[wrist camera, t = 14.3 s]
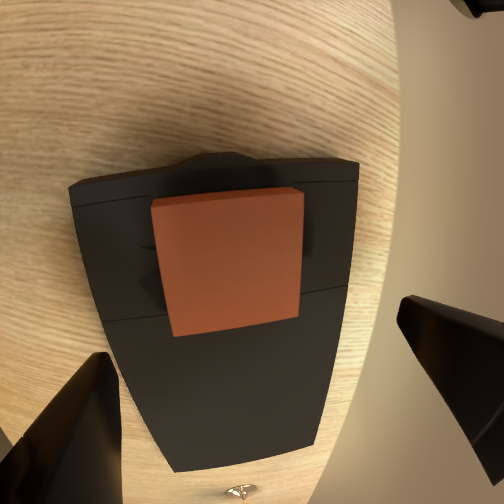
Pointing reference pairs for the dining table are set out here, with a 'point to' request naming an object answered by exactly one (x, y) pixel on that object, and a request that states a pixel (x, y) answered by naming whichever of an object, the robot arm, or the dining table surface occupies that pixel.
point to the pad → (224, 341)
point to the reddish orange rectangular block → (229, 257)
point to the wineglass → (242, 491)
